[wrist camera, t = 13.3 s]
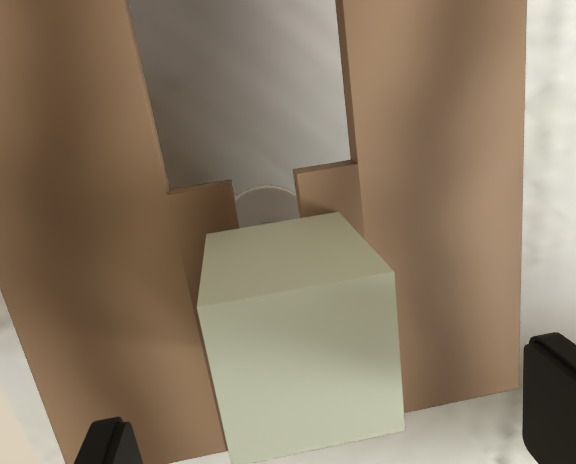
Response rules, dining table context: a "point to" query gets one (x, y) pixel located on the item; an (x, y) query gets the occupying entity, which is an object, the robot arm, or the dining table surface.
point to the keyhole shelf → (223, 215)
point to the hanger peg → (298, 331)
